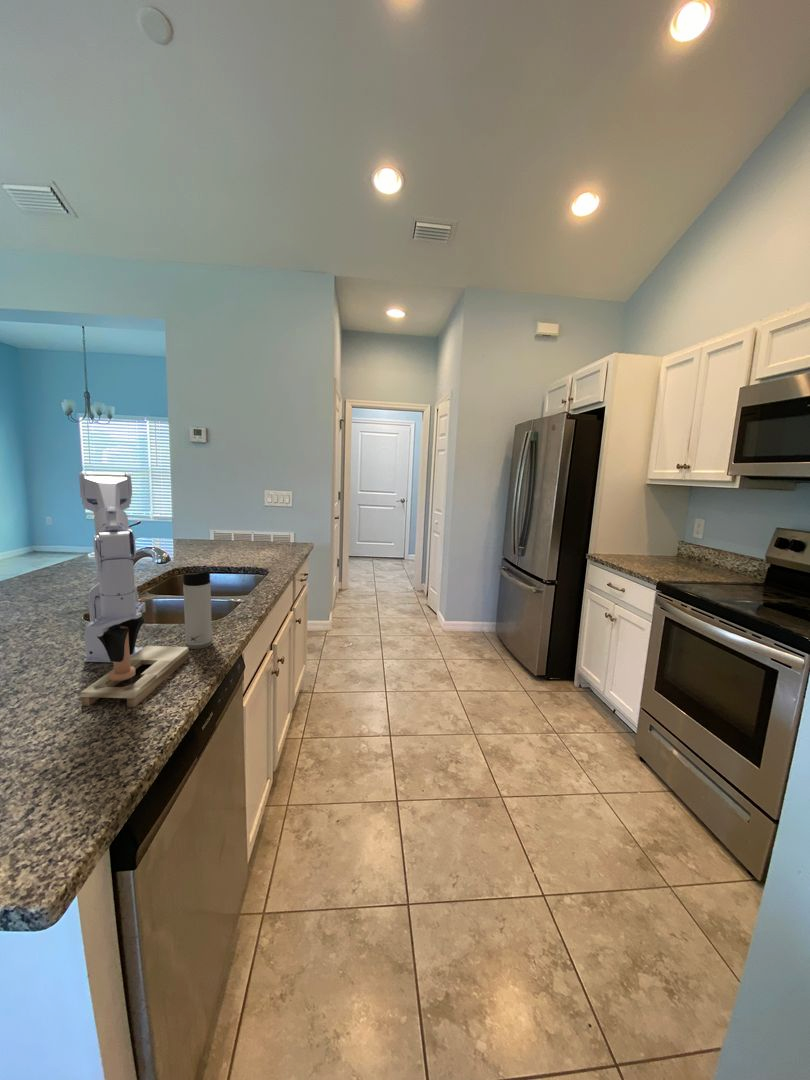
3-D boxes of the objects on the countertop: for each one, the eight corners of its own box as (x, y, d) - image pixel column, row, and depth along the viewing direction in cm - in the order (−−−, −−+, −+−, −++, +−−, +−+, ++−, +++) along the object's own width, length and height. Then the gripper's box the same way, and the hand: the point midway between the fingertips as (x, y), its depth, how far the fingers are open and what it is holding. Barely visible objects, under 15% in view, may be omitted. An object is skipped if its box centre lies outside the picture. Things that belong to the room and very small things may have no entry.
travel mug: (195, 651, 108) (192, 574, 105) (180, 645, 112) (177, 570, 109) (218, 644, 114) (216, 570, 110) (202, 638, 117) (200, 566, 114)
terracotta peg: (104, 680, 85) (101, 632, 83) (118, 670, 89) (115, 624, 88) (127, 681, 85) (124, 633, 84) (140, 671, 90) (137, 625, 88)
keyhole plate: (81, 705, 83) (80, 692, 82) (147, 656, 105) (146, 645, 104) (134, 707, 83) (133, 693, 83) (188, 658, 105) (188, 647, 104)
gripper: (114, 603, 77) (119, 674, 80) (158, 583, 92) (161, 643, 94) (74, 602, 77) (80, 673, 79) (125, 582, 92) (128, 642, 94)
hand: (122, 657), depth 87 cm, fingers closed on terracotta peg, 3 cm apart
